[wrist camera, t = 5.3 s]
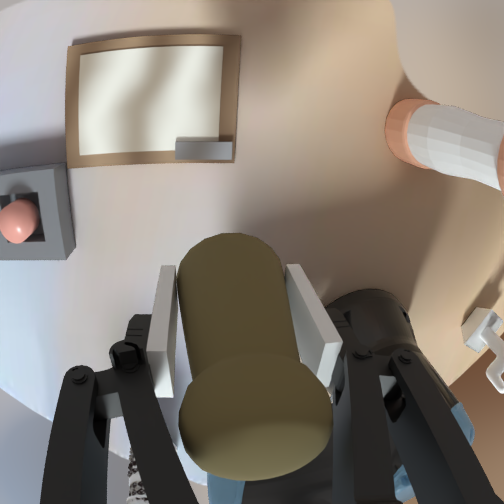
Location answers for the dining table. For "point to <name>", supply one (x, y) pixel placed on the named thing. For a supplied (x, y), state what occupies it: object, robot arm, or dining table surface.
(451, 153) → the pepper shaker
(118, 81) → the clipboard
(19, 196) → the button housing
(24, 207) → the button
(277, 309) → the pepper shaker
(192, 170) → the dining table surface
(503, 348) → the figurine
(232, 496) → the robot arm
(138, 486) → the decorative candle
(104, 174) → the dining table surface
